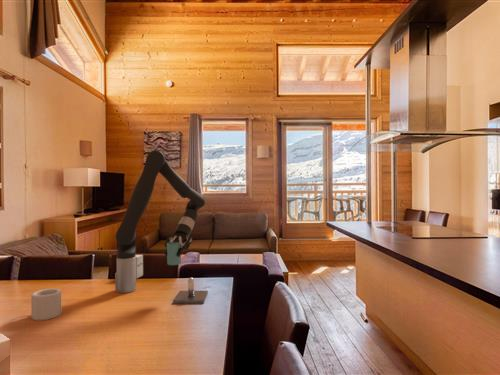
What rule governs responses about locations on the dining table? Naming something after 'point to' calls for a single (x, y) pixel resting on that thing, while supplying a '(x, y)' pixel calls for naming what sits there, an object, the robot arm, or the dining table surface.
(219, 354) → the dining table surface
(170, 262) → the sleeve
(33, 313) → the mug
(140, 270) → the supplement box
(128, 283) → the robot arm
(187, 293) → the post base
